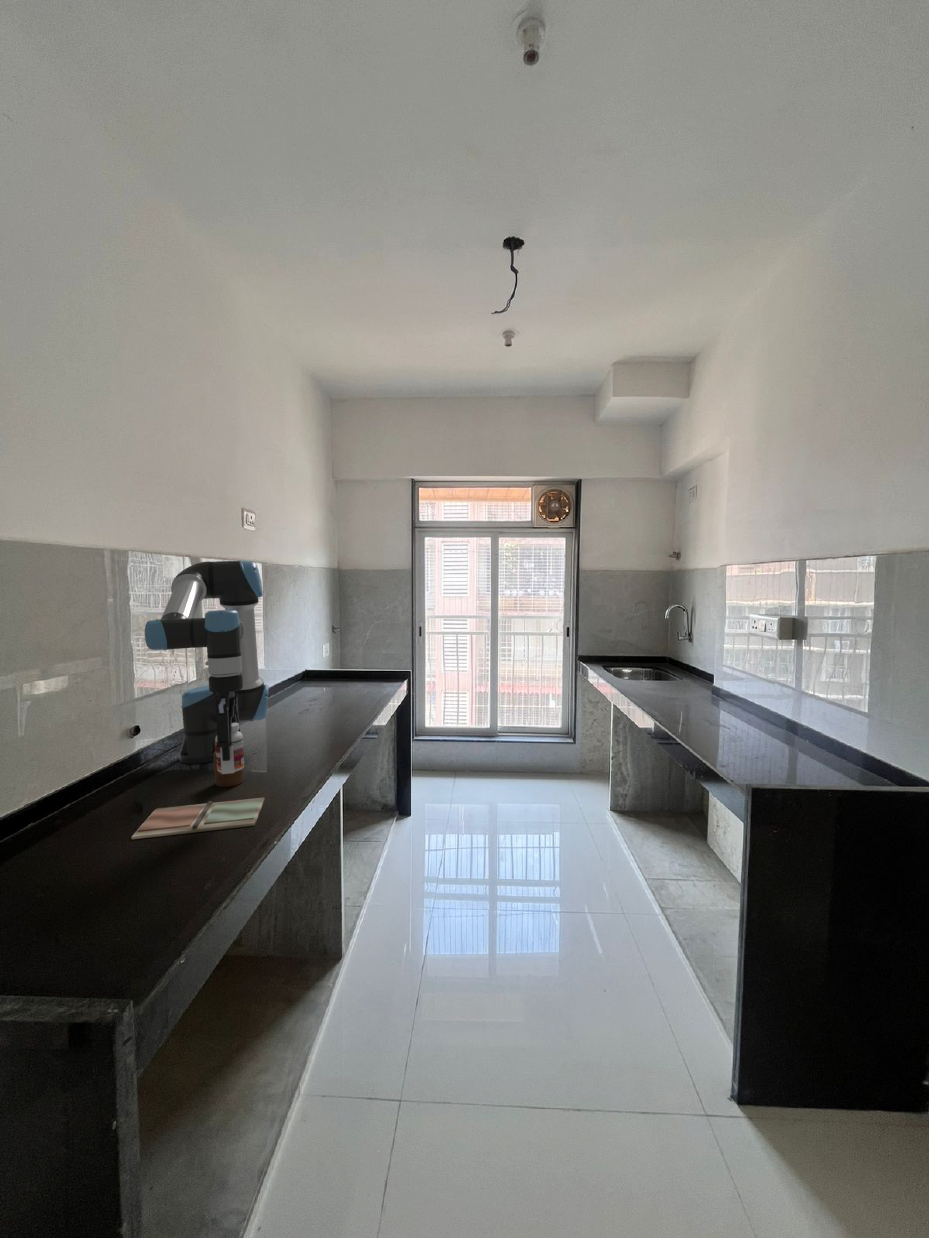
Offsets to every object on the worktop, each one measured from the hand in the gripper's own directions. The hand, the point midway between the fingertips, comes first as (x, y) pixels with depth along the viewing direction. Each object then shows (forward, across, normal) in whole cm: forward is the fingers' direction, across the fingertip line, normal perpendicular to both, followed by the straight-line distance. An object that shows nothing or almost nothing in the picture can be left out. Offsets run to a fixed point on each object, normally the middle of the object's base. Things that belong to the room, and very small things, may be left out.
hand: (231, 768), depth 135 cm
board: (+12, 0, -7) cm, 14 cm away
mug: (+12, -22, -6) cm, 26 cm away
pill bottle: (+1, 0, 0) cm, 1 cm away
